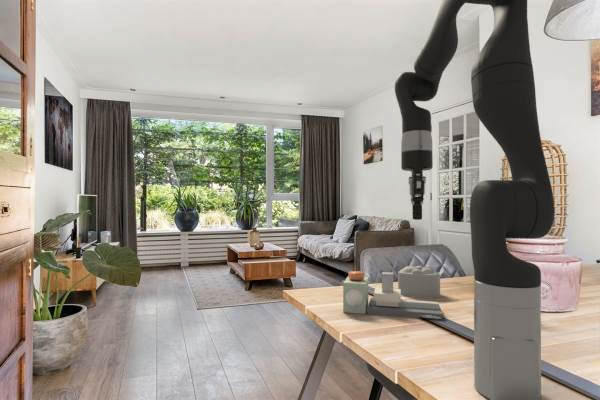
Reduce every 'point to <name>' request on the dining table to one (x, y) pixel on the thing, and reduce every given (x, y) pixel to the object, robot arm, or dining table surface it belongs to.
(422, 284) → the grey lumpy-topped block
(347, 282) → the end cabinet
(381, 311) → the rail board
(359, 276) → the button
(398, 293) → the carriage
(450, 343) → the dining table surface
